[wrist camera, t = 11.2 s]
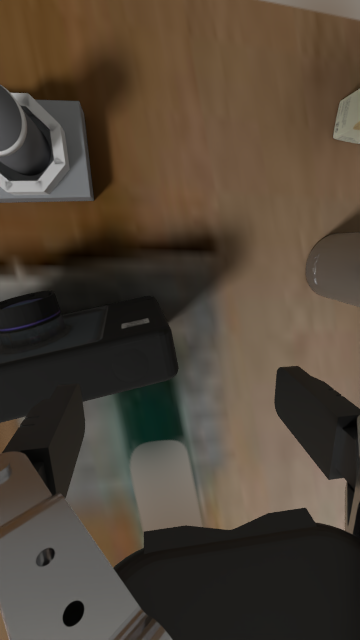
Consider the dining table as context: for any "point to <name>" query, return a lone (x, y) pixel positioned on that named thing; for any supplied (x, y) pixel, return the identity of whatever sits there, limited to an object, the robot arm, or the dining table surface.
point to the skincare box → (348, 119)
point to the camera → (79, 349)
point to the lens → (21, 138)
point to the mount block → (53, 155)
